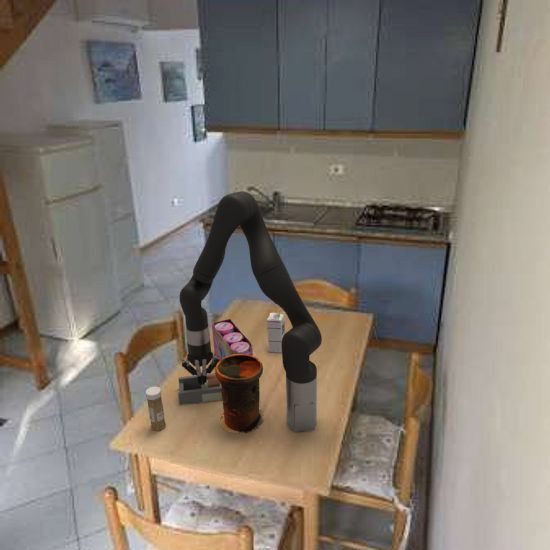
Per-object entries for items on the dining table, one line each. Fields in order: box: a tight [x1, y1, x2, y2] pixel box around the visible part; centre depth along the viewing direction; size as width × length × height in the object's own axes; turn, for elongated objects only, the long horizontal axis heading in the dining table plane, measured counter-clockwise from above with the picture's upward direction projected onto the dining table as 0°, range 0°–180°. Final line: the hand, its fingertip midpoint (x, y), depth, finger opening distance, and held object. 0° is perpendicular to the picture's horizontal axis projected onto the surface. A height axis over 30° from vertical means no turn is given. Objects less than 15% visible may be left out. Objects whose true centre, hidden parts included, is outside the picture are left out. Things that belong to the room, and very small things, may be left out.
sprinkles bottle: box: [145, 386, 167, 432], centre depth 150 cm, size 5×5×13 cm
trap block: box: [207, 372, 220, 388], centre depth 167 cm, size 4×4×3 cm
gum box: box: [211, 318, 254, 361], centre depth 180 cm, size 24×8×14 cm, turn 25°
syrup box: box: [266, 312, 286, 354], centre depth 190 cm, size 6×6×14 cm
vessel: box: [214, 354, 265, 434], centre depth 151 cm, size 14×14×20 cm
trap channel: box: [177, 372, 222, 406], centre depth 167 cm, size 9×22×4 cm, turn 100°
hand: (202, 383), depth 166 cm, fingers closed
